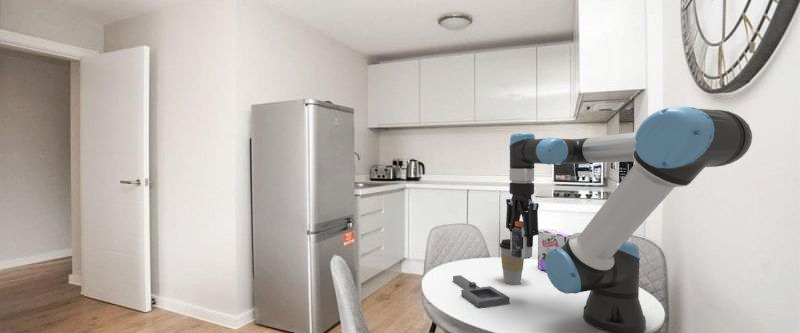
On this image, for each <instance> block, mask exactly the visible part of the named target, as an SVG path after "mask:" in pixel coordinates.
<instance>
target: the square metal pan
mask: <svg viewBox="0 0 800 333" xmlns="http://www.w3.org/2000/svg"><path fill="white" fill-rule="evenodd" d="M452 282H453V283H454V284H456V285H458V287H461V288H463V289H461V297H462V298H464V299H465V300H466V301H468V302H469V303H471V305H473V306H474V307H476V308H477V309H483V308H491V307H498V306H504V305H510V304H511V303H510V302H511V301H510V300H511V298H510V296H508V295H506V294H504V293H503V292H501V291H499V290H497V289H496V288H495V287H492V286H491V285H489V286H481V287H480V286H478V285H477V282H474V281H471V280H469V279H467V278H466V277H464V276H462V275H460V274H459V275H458V274H457V275H453V276H452Z"/></svg>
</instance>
